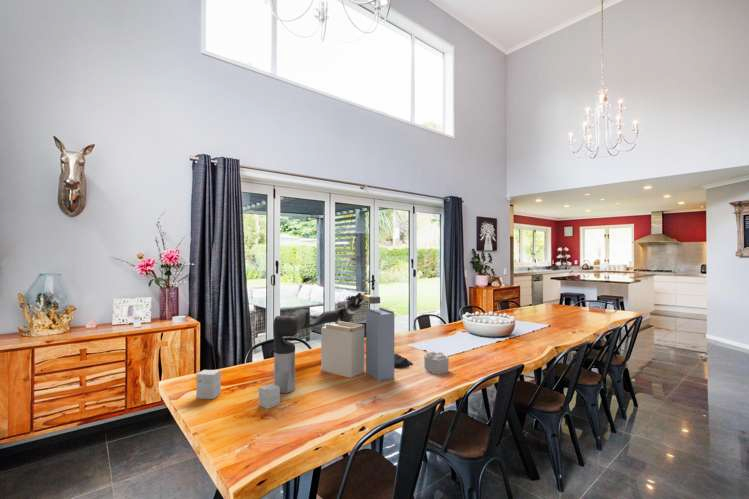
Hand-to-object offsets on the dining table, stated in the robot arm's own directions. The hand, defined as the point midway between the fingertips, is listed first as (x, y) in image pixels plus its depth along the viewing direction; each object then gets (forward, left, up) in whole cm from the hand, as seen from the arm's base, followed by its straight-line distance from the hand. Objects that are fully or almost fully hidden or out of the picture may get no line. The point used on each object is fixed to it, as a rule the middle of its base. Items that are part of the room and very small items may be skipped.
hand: (363, 294), depth 197 cm
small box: (-50, +62, -39) cm, 88 cm away
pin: (-4, -2, -3) cm, 5 cm away
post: (-18, -10, -39) cm, 44 cm away
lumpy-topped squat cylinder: (-7, -39, -39) cm, 56 cm away
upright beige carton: (-13, +9, -39) cm, 42 cm away
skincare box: (-56, +33, -39) cm, 75 cm away
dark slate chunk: (+4, -16, -40) cm, 43 cm away
